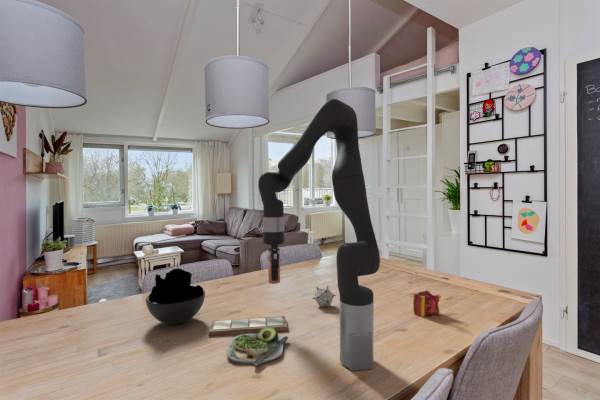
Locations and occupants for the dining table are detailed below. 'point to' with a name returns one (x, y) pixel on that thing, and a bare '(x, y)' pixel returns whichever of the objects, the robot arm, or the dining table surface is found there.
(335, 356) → the dining table surface
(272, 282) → the pawn
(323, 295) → the game die
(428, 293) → the book monster
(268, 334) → the salad plate
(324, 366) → the dining table surface
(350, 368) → the robot arm
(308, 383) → the dining table surface
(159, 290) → the coal bowl
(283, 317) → the board
